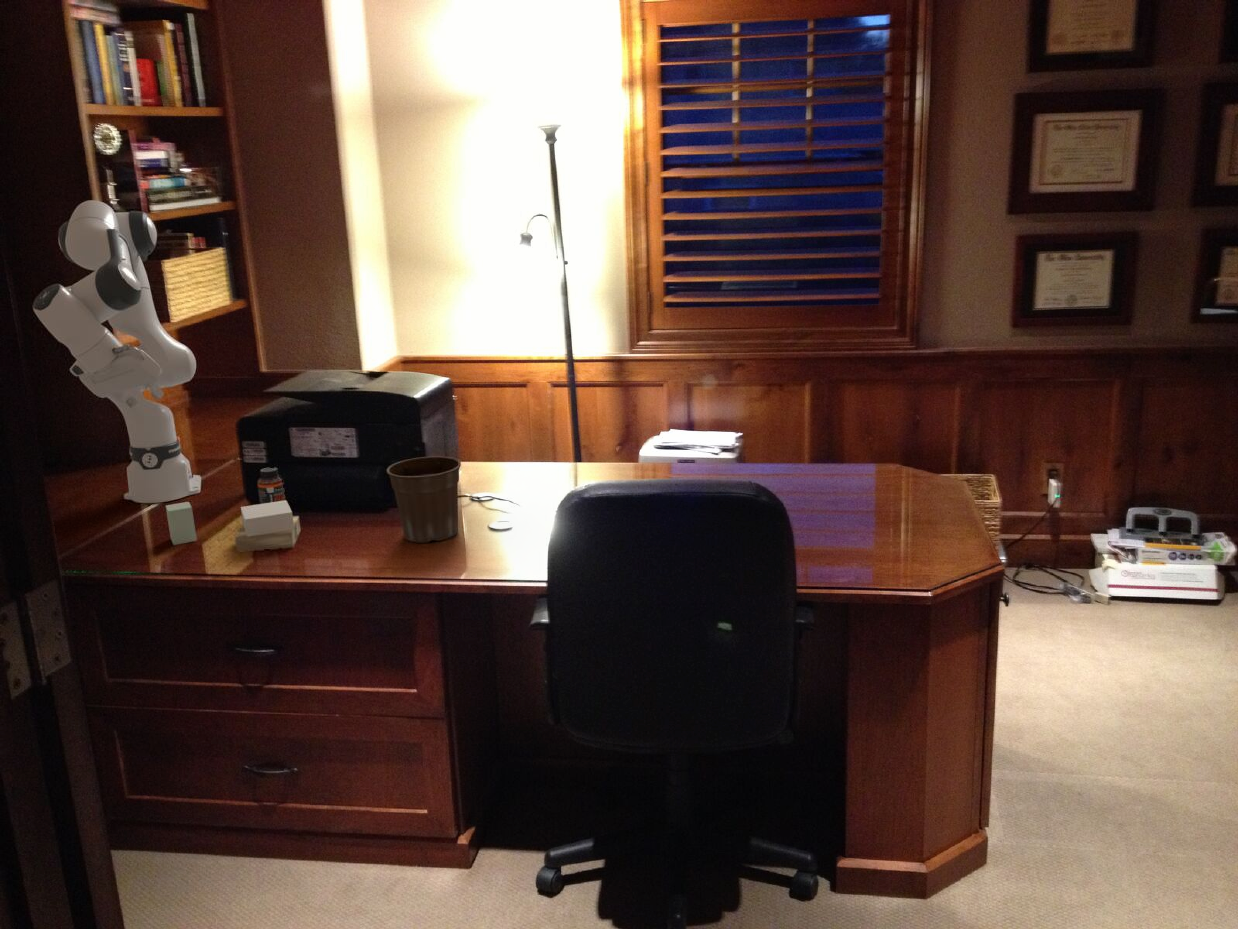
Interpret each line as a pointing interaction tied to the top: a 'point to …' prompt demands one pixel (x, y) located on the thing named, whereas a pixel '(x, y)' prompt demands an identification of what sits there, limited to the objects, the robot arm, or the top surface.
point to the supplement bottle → (270, 486)
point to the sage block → (181, 523)
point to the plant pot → (427, 497)
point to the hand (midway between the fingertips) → (147, 401)
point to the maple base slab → (268, 539)
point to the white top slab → (267, 518)
